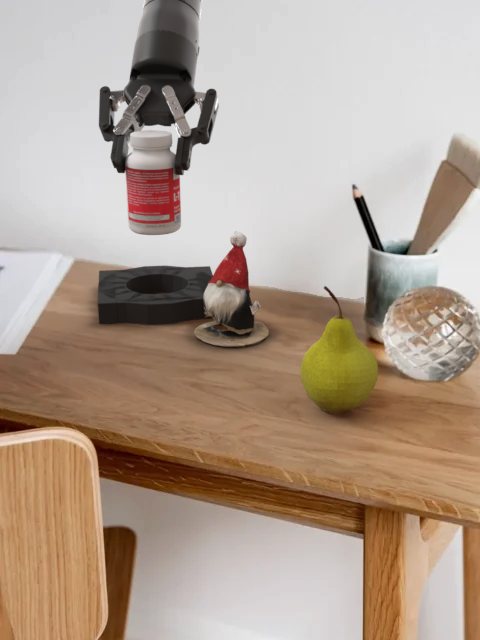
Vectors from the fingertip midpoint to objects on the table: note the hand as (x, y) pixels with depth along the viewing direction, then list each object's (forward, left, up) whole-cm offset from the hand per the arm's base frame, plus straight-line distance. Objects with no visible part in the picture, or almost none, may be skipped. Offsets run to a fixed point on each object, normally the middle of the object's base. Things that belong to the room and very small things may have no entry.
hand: (149, 169), depth 94 cm
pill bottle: (0, +2, -8) cm, 8 cm away
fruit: (+15, -28, -17) cm, 36 cm away
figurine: (+8, -9, -17) cm, 21 cm away
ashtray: (0, +2, -17) cm, 17 cm away
